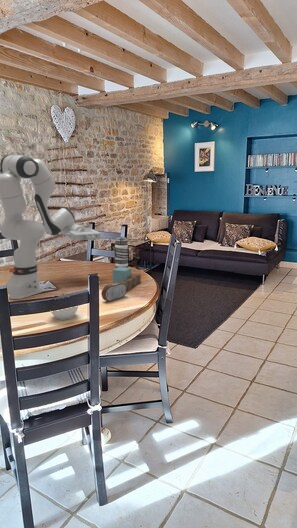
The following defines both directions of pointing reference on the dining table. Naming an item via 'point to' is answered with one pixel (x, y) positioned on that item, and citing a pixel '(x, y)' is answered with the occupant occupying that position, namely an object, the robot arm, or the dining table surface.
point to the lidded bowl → (64, 311)
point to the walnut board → (132, 281)
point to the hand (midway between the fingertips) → (94, 239)
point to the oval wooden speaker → (114, 291)
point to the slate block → (121, 274)
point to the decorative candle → (121, 252)
